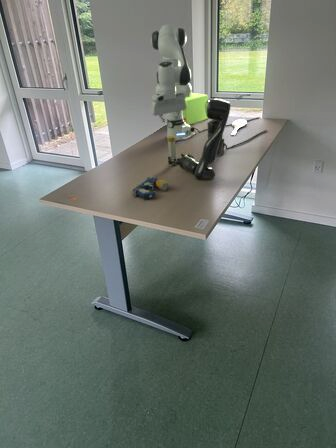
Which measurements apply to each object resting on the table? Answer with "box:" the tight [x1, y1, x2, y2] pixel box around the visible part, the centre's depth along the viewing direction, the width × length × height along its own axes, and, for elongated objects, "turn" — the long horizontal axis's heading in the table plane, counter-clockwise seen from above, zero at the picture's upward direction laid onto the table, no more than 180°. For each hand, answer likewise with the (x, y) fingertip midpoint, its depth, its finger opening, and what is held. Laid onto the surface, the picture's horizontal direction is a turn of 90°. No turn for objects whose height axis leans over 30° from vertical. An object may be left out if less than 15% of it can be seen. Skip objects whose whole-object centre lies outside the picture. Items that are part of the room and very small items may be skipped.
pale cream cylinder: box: [167, 141, 177, 167], centre depth 198 cm, size 4×4×17 cm
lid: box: [166, 136, 176, 143], centre depth 194 cm, size 5×5×2 cm
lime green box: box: [182, 91, 209, 126], centre depth 283 cm, size 25×21×23 cm
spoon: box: [231, 119, 248, 136], centre depth 255 cm, size 35×11×2 cm, turn 159°
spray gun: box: [131, 175, 169, 200], centre depth 172 cm, size 21×4×15 cm
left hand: (169, 120), depth 189 cm, fingers open, 7 cm apart
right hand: (175, 156), depth 197 cm, fingers open, 8 cm apart
